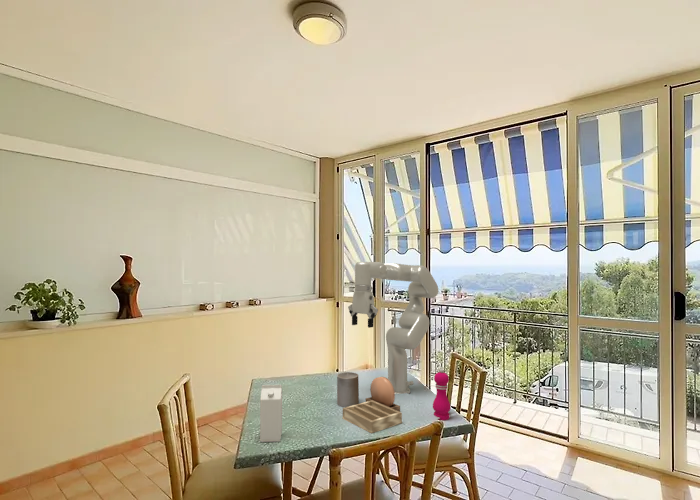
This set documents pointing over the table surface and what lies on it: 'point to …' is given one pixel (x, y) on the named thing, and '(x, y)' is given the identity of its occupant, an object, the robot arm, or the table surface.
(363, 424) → the rack
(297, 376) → the table surface
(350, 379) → the pillar candle
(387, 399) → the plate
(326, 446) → the table surface
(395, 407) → the narrow wooden tray
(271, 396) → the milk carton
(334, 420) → the table surface
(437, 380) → the pepper mill
